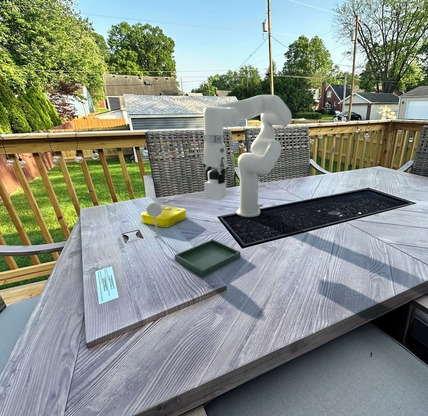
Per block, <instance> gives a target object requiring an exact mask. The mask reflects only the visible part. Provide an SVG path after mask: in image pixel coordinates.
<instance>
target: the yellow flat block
mask: <svg viewBox="0 0 428 416" xmlns="http://www.w3.org/2000/svg"><path fill="white" fill-rule="evenodd" d="M160 205H161V206H162V212H161V214H160V215H159V216H156V225H157V227H159V228H169V227H171V226H172V227H173V226H174V225H176V224H177V223H180V222H181V221H183V220H185V219H186V218H187V210H186V208H181V207H176V206H171V205H166V204H160ZM141 222H142V224H146V225H150V226H155V218H154V217H152V216H150V215H148V214H147V212H146V211H143V212H142V213H141Z"/></svg>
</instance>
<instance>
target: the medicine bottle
mask: <svg viewBox="0 0 428 416" xmlns="http://www.w3.org/2000/svg"><path fill="white" fill-rule="evenodd" d="M218 174H219V172H218V170H217V169H211V170H210V171H208V180H206V181H205V182H204V183H203V185H204V199H205V200H214V201H221V200H223V199H224V198H226V197H227V180H225V183H222V184H218Z"/></svg>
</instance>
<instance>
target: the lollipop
mask: <svg viewBox="0 0 428 416" xmlns="http://www.w3.org/2000/svg"><path fill="white" fill-rule="evenodd" d="M161 205H162V204H160V203H159V202H157V201H152V202H149V203H148V204H147V205H146V206H145V212H147V214H148V215H150V216H152V217H154V218H155V225H154V226H155V235H156V236H155V237H156V238H159V237H158V235H159V234H158V228H157V227H158V226H157V225H156V216H159V215H160V214H161V212H162V206H161Z"/></svg>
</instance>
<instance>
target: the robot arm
mask: <svg viewBox="0 0 428 416" xmlns="http://www.w3.org/2000/svg"><path fill="white" fill-rule="evenodd" d="M258 116H260V124H261V125H260V127H261V129H260V131H259V133H258V135H257V136H256V138H255V139H254V140H253V142H252V144H251V146H250V152H244V153H241V154H240V155H239V157H238V158H237V168H238V172H239V208H238V209H236V214H237V215H238V216H240V217H243V218H255V217H258V216H260V215H261V210H260V208H261V207H263V206H264V204H263V203H262V202H260V203H258V202H259V177H258V175H261V176H266V175H268V174H269V173H271V171H272V170H273V168H274V166H275V165H276V164H277V161H278V160H279V158H280V156H281V154H282V144H281V142H280V140H278V139H276V131H275V130H274V126H279V127H287V126H288V125H290V123H291V122H292V116H293V115H292V112H291V109H289V107H288V106H287V104H286V103H285V102H284V101H283V99H282V98H280V96H278V95H277V94H259V95H256V96H252V97H249V98H245V99H242V100H236V101H232V102H227V103H222V104H218V105H214V106H205V107H204V108H203V130H204V131H203V134H204V144H203V158H202V159H201V163H202V165H203V168H204V171H205V180H206V181H209V180H208V171H210V170H213V169H216V170H218V172H219V174H218V184H222V183H225V181H226V173H227V172H228V170H229V168H230V165H229V164H228V156H227V155H228V154H227V148H226V144H225V143H224V127H229V128H230V127H231V128H232V127H233V128H234V127H236V126H238V125H239V124H240V123H241V120H243V121H244V120H251V119H253V118H255V117H256V118H257V117H258Z"/></svg>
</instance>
